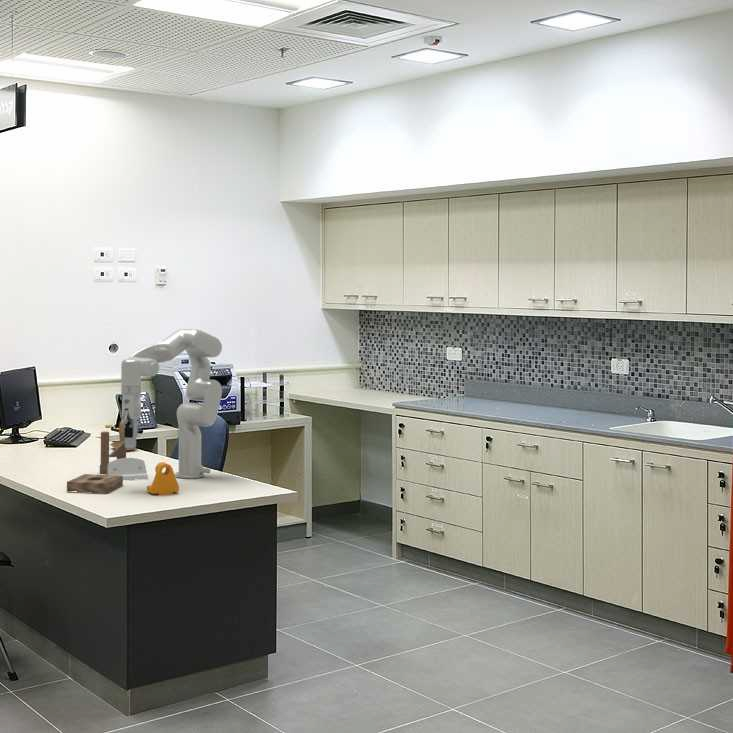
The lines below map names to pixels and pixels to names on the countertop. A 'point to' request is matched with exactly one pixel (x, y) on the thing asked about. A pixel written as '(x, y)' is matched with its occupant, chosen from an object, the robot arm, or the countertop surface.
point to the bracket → (163, 481)
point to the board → (95, 483)
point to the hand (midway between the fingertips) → (130, 436)
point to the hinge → (128, 468)
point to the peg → (132, 441)
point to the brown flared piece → (122, 436)
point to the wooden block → (118, 452)
